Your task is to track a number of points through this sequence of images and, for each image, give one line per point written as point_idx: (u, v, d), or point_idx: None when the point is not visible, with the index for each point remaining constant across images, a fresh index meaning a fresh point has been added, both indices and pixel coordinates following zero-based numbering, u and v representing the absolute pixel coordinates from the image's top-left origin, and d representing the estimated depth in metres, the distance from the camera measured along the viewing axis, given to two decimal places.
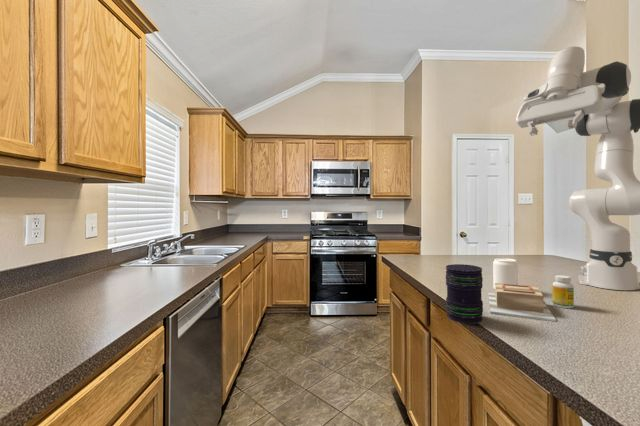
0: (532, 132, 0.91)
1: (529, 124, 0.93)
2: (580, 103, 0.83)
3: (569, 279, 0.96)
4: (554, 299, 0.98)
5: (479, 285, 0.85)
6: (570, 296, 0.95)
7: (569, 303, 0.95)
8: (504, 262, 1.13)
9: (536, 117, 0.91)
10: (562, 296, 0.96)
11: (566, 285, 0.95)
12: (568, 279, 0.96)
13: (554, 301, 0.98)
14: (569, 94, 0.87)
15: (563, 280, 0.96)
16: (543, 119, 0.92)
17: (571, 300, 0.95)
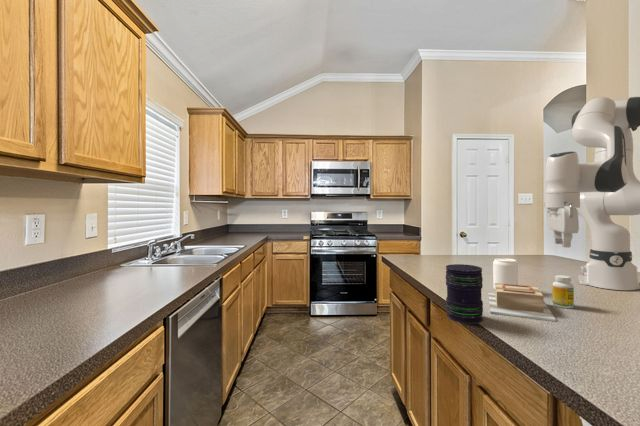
0: (556, 243, 1.02)
1: (553, 233, 1.03)
2: (560, 227, 0.92)
3: (569, 279, 0.96)
4: (554, 299, 0.98)
5: (479, 285, 0.85)
6: (570, 296, 0.95)
7: (569, 303, 0.95)
8: (504, 262, 1.13)
9: (552, 229, 1.01)
10: (562, 296, 0.96)
11: (566, 285, 0.95)
12: (568, 279, 0.96)
13: (554, 301, 0.98)
14: (557, 213, 0.95)
15: (563, 280, 0.96)
16: None
17: (571, 300, 0.95)
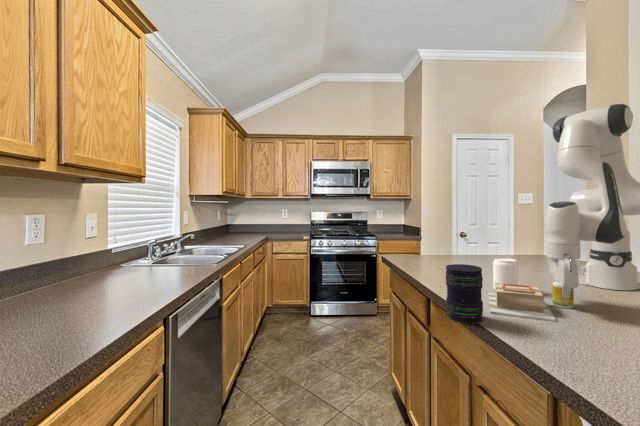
0: None
1: None
2: (560, 280, 0.93)
3: None
4: (554, 299, 0.98)
5: (479, 285, 0.85)
6: (570, 296, 0.95)
7: (569, 303, 0.95)
8: (504, 262, 1.13)
9: (553, 276, 1.02)
10: None
11: None
12: None
13: (554, 301, 0.98)
14: (558, 263, 0.95)
15: None
16: None
17: (571, 300, 0.95)
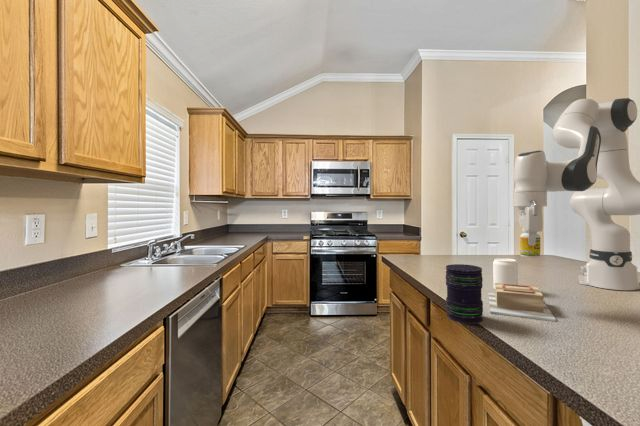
0: None
1: None
2: (526, 226, 0.93)
3: None
4: (521, 250, 0.98)
5: (479, 285, 0.85)
6: (536, 245, 0.95)
7: (535, 253, 0.95)
8: (504, 262, 1.13)
9: (522, 228, 1.02)
10: (528, 246, 0.96)
11: None
12: None
13: (521, 252, 0.98)
14: (524, 211, 0.95)
15: None
16: None
17: (537, 250, 0.95)
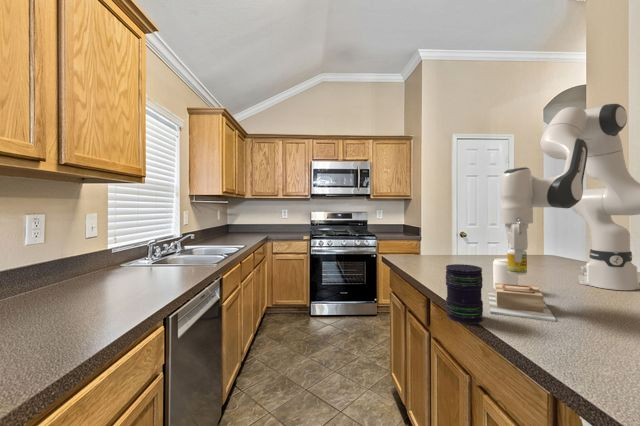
0: None
1: None
2: None
3: None
4: (508, 266, 0.98)
5: (479, 285, 0.85)
6: (523, 262, 0.96)
7: (521, 269, 0.96)
8: (504, 262, 1.13)
9: (509, 243, 1.03)
10: (515, 263, 0.96)
11: None
12: None
13: (508, 268, 0.98)
14: (511, 228, 0.96)
15: None
16: None
17: (524, 266, 0.96)
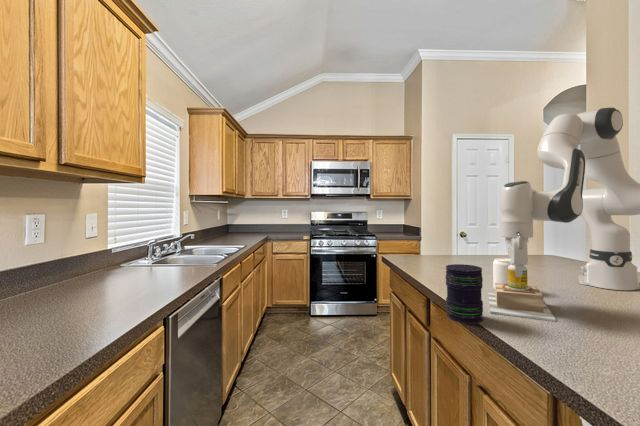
0: None
1: None
2: (512, 258, 0.93)
3: None
4: (509, 282, 0.99)
5: (479, 285, 0.85)
6: (523, 278, 0.96)
7: (522, 286, 0.96)
8: (504, 262, 1.13)
9: None
10: (515, 279, 0.96)
11: None
12: None
13: (509, 284, 0.99)
14: (511, 242, 0.96)
15: None
16: None
17: (524, 283, 0.96)
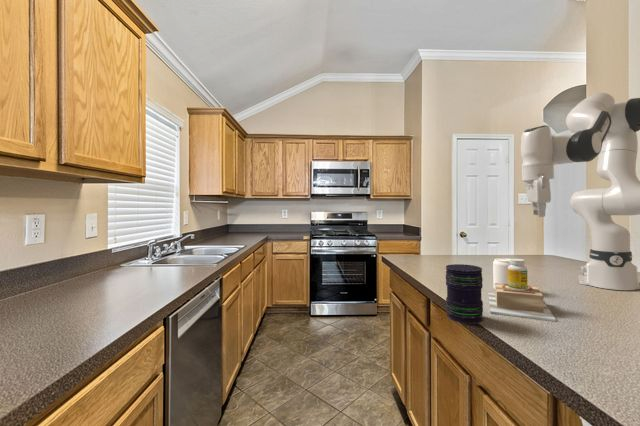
0: (534, 214, 1.07)
1: (532, 205, 1.08)
2: (534, 198, 0.97)
3: (523, 262, 0.96)
4: (509, 282, 0.99)
5: (479, 285, 0.85)
6: (523, 278, 0.96)
7: (522, 286, 0.96)
8: (504, 262, 1.13)
9: (530, 201, 1.07)
10: (515, 279, 0.96)
11: (519, 268, 0.96)
12: (521, 262, 0.96)
13: (509, 284, 0.99)
14: (532, 184, 1.00)
15: (517, 263, 0.96)
16: None
17: (524, 283, 0.96)
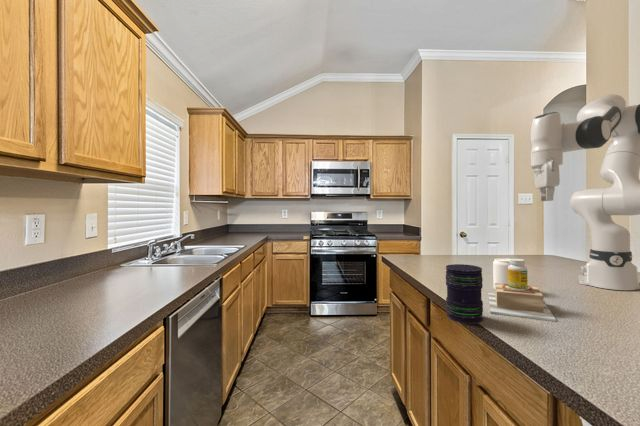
0: (541, 200, 1.08)
1: None
2: (543, 182, 0.99)
3: (523, 262, 0.96)
4: (509, 282, 0.99)
5: (479, 285, 0.85)
6: (523, 278, 0.96)
7: (522, 286, 0.96)
8: (504, 262, 1.13)
9: (538, 187, 1.08)
10: (515, 279, 0.96)
11: (519, 268, 0.96)
12: (521, 262, 0.96)
13: (509, 284, 0.99)
14: (541, 169, 1.02)
15: (517, 263, 0.97)
16: None
17: (524, 283, 0.96)
